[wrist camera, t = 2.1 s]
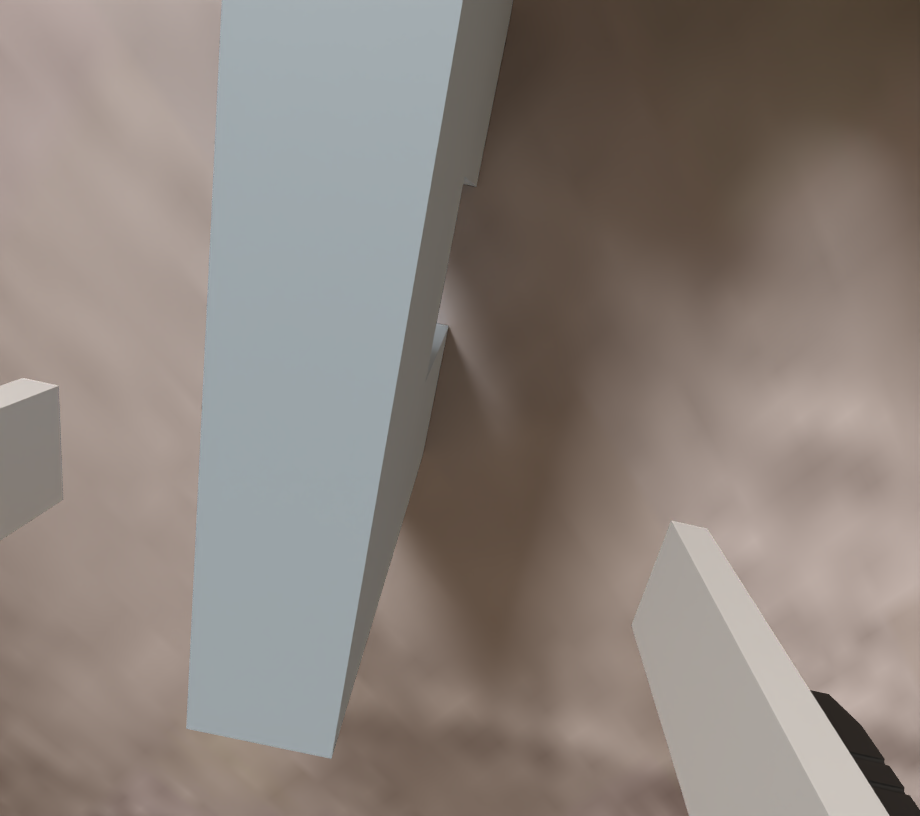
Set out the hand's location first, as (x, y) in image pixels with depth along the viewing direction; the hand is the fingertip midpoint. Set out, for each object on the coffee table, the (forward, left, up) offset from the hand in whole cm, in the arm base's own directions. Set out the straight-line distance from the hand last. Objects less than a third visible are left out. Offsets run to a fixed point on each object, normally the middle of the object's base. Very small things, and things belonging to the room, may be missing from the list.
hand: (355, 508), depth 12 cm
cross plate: (0, +5, -8) cm, 9 cm away
